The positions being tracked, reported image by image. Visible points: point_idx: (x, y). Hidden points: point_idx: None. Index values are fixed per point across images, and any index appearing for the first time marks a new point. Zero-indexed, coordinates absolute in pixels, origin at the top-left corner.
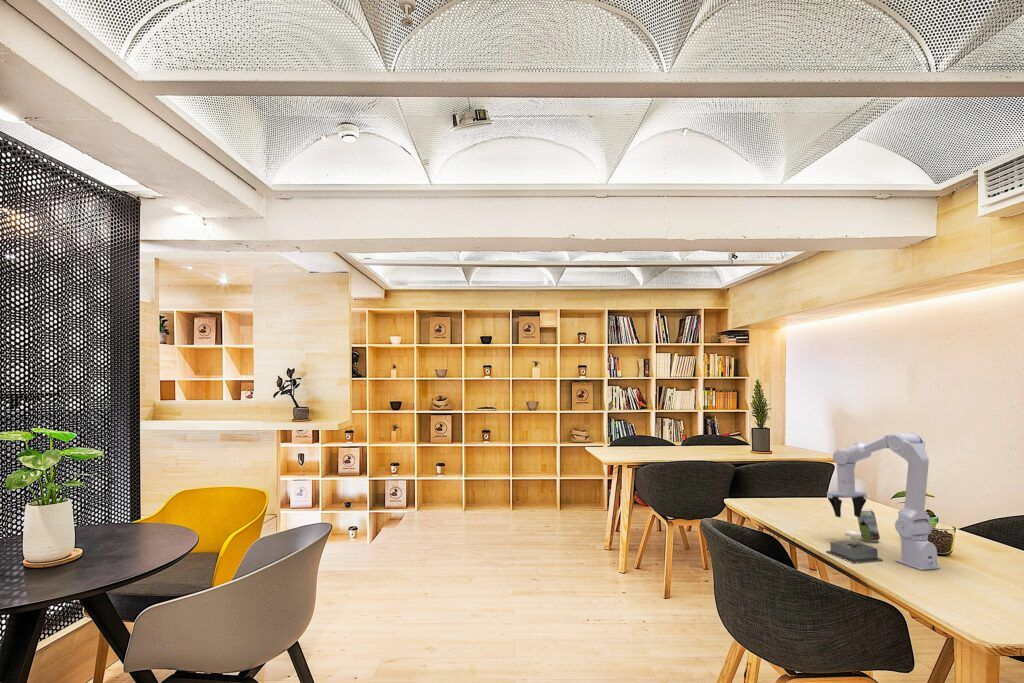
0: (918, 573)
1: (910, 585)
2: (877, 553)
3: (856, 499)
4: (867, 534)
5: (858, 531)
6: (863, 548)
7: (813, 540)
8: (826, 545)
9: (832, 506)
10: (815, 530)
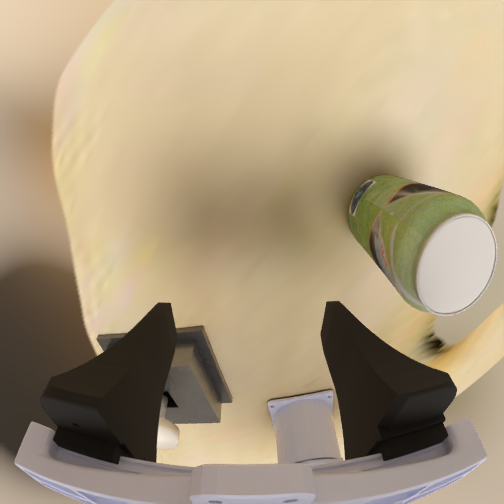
0: (256, 439)
1: (196, 459)
2: (220, 410)
3: (365, 441)
4: (362, 246)
5: (172, 441)
6: (177, 418)
7: (100, 192)
8: (125, 265)
9: (114, 346)
10: (215, 3)
